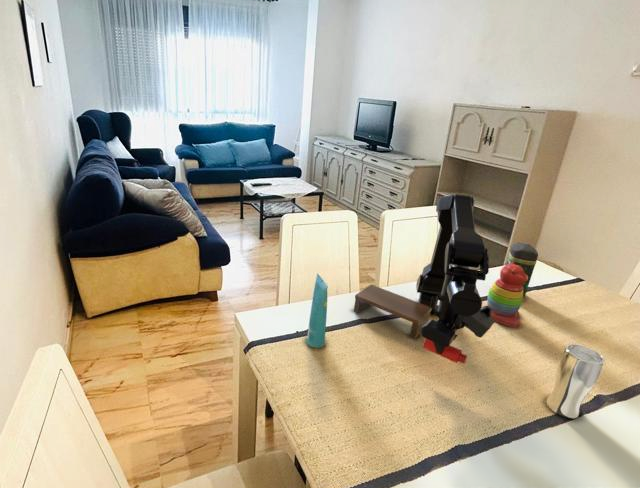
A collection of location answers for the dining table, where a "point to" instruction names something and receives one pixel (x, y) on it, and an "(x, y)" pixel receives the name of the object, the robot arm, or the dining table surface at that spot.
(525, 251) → the coffee jar
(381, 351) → the dining table surface
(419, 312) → the shelf
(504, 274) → the stacking bear
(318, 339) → the tube
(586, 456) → the dining table surface
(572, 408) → the silver metal cylinder
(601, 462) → the dining table surface
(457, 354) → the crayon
